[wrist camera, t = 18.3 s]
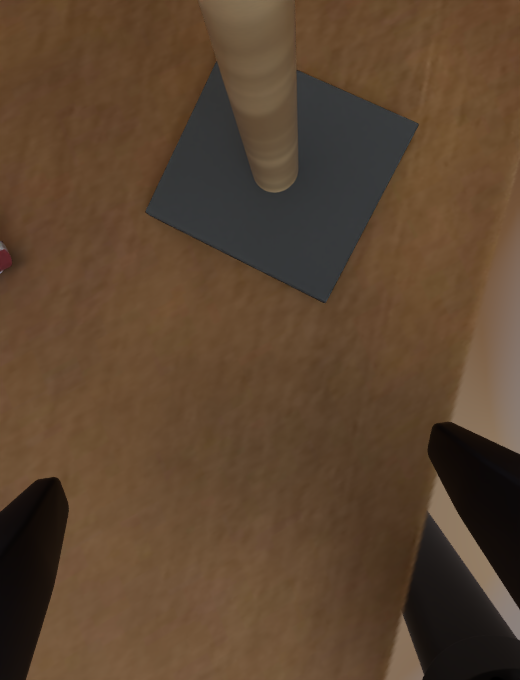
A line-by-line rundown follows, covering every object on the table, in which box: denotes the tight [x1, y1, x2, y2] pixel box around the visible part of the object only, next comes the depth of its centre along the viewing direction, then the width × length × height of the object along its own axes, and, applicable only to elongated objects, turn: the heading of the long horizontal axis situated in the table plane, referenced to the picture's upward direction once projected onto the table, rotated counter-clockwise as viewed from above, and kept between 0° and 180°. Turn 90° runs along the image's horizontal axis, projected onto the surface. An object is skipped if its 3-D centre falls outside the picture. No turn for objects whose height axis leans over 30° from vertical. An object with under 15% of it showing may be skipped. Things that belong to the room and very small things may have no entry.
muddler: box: [198, 0, 298, 193], centre depth 12 cm, size 2×2×14 cm
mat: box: [146, 61, 419, 303], centre depth 19 cm, size 11×10×1 cm
